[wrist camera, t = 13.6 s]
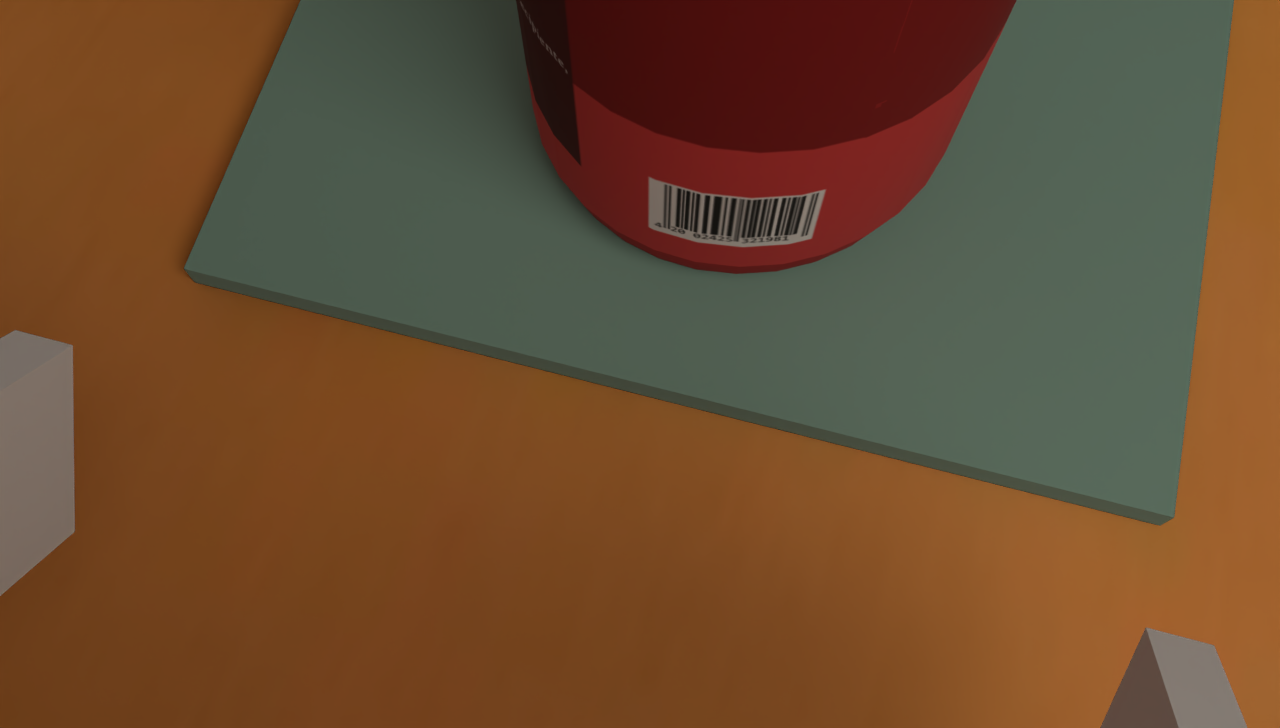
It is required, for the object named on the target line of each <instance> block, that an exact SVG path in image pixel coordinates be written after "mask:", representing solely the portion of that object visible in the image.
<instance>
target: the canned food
mask: <svg viewBox="0 0 1280 728" xmlns="http://www.w3.org/2000/svg"><path fill="white" fill-rule="evenodd" d="M516 3H517V10H518V16H519V22H520V29H521V35H522V41H523V48H524V54H525V60H526V67H527V73H528V79H529V86H530V92H531V98H532V105H533V110H534V114H535V118H536V122H537V126H538V130H539V134H540V138H541V142H542V145H543V147H544V149H545V151H546V152H547V154H548V156H549V158H550V160H551V162H552V164H553V166H554V168H555V170H556V171H557V173H558V175H559V177H560V178H561V179H562V181H563V182H564V183H565V184H566V185H567V186H568V188H569V189H570V190H571V191H572V192H573V193H574V195H575V196H576V197H577V198H578V199H579V201H580V202H581V203H582V204H583V205H584V206H585V207H586V209H587V210H588V211H589V212H590V213H591V214H592V215H593V216H594V217H595V218H596V219H597V220H598V221H599V222H601V223H602V224H603V225H604V226H606V227H607V228H608V229H610V230H611V231H612V232H613V233H615V234H616V235H617V236H619V237H620V238H621V239H622V240H624V241H625V242H627V243H629V244H631V245H633V246H635V247H637V248H639V249H641V250H643V251H645V252H647V253H649V254H651V255H653V256H655V257H657V258H659V259H662V260H666V261H669V262H673V263H676V264H679V265H683V266H686V267H690V268H693V269H696V270H705V271H714V272H723V273H732V274H743V273H759V272H775V271H780V270H784V269H789V268H793V267H797V266H801V265H805V264H809V263H813V262H816V261H819V260H821V259H823V258H825V257H828V256H830V255H832V254H834V253H837V252H839V251H841V250H843V249H846V248H848V247H850V246H852V245H853V244H855V243H856V242H858V241H859V240H861V239H862V238H864V237H865V236H867V235H868V234H869V233H871V232H872V231H874V230H875V229H877V228H878V227H880V226H881V225H882V224H884V223H885V222H887V221H888V220H890V219H891V218H893V217H894V216H895V215H897V214H898V213H899V212H900V211H901V210H902V209H903V208H904V207H905V206H906V205H907V204H908V203H909V202H910V201H911V200H912V199H913V198H914V197H915V196H916V195H917V194H918V193H919V191H920V190H921V189H922V188H923V187H924V186H925V185H926V184H927V182H928V180H929V179H930V177H931V175H932V174H933V172H934V170H935V169H936V167H937V166H938V164H939V162H940V161H941V159H942V157H943V156H944V154H945V152H946V150H947V148H948V146H949V144H950V141H951V139H952V137H953V135H954V133H955V131H956V129H957V127H958V124H959V122H960V120H961V118H962V116H963V114H964V112H965V109H966V107H967V105H968V103H969V101H970V99H971V97H972V94H973V92H974V90H975V88H976V86H977V84H978V82H979V80H980V77H981V75H982V73H983V71H984V69H985V67H986V65H987V62H988V60H989V58H990V56H991V54H992V52H993V50H994V47H995V45H996V43H997V41H998V39H999V37H1000V35H1001V33H1002V30H1003V28H1004V26H1005V24H1006V22H1007V20H1008V18H1009V15H1010V13H1011V11H1012V9H1013V7H1014V5H1015V3H1016V0H516Z"/></svg>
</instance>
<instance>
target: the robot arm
mask: <svg viewBox="0 0 1280 728" xmlns="http://www.w3.org/2000/svg"><path fill="white" fill-rule="evenodd" d="M74 532H75V502H74V412H73V345H70V344H66V343H63V342H59V341H55V340H51V339H47V338H44V337H40V336H36V335H32V334H28V333H25V332H21V331H17V330H14V331H13V332H11V333H9V334H7V335H6V336H4V337H2V338H0V596H1V595H2V594H3V593H4V592H5V591H7V590H8V589H9V588H10V587H11V586H12V585H14V584H15V583H16V582H17V581H18V580H19V579H20V578H22V577H23V576H24V575H25V574H26V573H27V572H29V571H30V570H31V569H32V568H33V567H34V566H36V565H37V564H38V563H39V562H40V561H41V560H43V559H44V558H45V557H46V556H47V555H48V554H50V553H51V552H52V551H53V550H54V549H55V548H56V547H58V546H59V545H60V544H61V543H62V542H63V541H65V540H66V539H67V538H68V537H69V536H70V535H72V534H73V533H74ZM1100 728H1247V726H1246V723H1245V721H1244V718H1243V716H1242V713H1241V711H1240V708H1239V706H1238V703H1237V701H1236V698H1235V696H1234V694H1233V691H1232V689H1231V686H1230V684H1229V681H1228V679H1227V676H1226V674H1225V671H1224V669H1223V666H1222V664H1221V661H1220V659H1219V656H1218V654H1217V651H1216V649H1215V647H1214V645H1211V644H1207V643H1203V642H1199V641H1195V640H1192V639H1188V638H1184V637H1180V636H1176V635H1173V634H1169V633H1165V632H1161V631H1157V630H1154V629H1150V628H1145V631H1144V633H1143V635H1142V637H1141V639H1140V642H1139V644H1138V646H1137V648H1136V650H1135V653H1134V655H1133V657H1132V659H1131V661H1130V664H1129V666H1128V668H1127V670H1126V672H1125V675H1124V677H1123V679H1122V681H1121V683H1120V686H1119V688H1118V690H1117V692H1116V694H1115V697H1114V699H1113V701H1112V703H1111V705H1110V708H1109V710H1108V712H1107V714H1106V716H1105V719H1104V721H1103V723H1102V725H1101V727H1100Z"/></svg>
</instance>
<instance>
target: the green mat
mask: <svg viewBox="0 0 1280 728" xmlns="http://www.w3.org/2000/svg"><path fill="white" fill-rule="evenodd" d="M1233 4H1234V0H1016V3H1015V5H1014V7H1013V9H1012V11H1011V13H1010V15H1009V18H1008V20H1007V22H1006V24H1005V26H1004V28H1003V30H1002V33H1001V35H1000V37H999V39H998V41H997V43H996V45H995V47H994V50H993V52H992V54H991V56H990V58H989V60H988V62H987V65H986V67H985V69H984V71H983V73H982V75H981V77H980V80H979V82H978V84H977V86H976V88H975V90H974V92H973V94H972V97H971V99H970V101H969V103H968V105H967V107H966V109H965V112H964V114H963V116H962V118H961V120H960V122H959V124H958V127H957V129H956V131H955V133H954V135H953V137H952V139H951V141H950V144H949V146H948V148H947V150H946V152H945V154H944V156H943V157H942V159H941V161H940V162H939V164H938V166H937V167H936V169H935V170H934V172H933V174H932V175H931V177H930V179H929V180H928V182H927V184H926V185H925V186H924V187H923V188H922V189H921V190H920V191H919V193H918V194H917V195H916V196H915V197H914V198H913V199H912V200H911V201H910V202H909V203H908V204H907V205H906V206H905V207H904V208H903V209H902V210H901V211H900V212H899V213H898V214H897V215H895V216H894V217H893V218H891V219H890V220H888V221H887V222H885V223H884V224H882V225H881V226H880V227H878V228H877V229H875V230H874V231H872V232H871V233H869V234H868V235H867V236H865V237H864V238H862V239H861V240H859V241H858V242H856V243H855V244H853V245H852V246H850V247H848V248H846V249H843V250H841V251H839V252H837V253H834V254H832V255H830V256H828V257H825V258H823V259H821V260H819V261H816V262H813V263H809V264H805V265H801V266H797V267H793V268H789V269H784V270H780V271H775V272H759V273H743V274H732V273H723V272H714V271H705V270H696V269H693V268H690V267H686V266H683V265H679V264H676V263H673V262H669V261H666V260H662V259H659V258H657V257H655V256H653V255H651V254H649V253H647V252H645V251H643V250H641V249H639V248H637V247H635V246H633V245H631V244H629V243H627V242H625V241H624V240H622V239H621V238H620V237H619V236H617V235H616V234H615V233H613V232H612V231H611V230H610V229H608V228H607V227H606V226H604V225H603V224H602V223H601V222H599V221H598V220H597V219H596V218H595V217H594V216H593V215H592V214H591V213H590V212H589V211H588V210H587V209H586V207H585V206H584V205H583V204H582V203H581V202H580V201H579V199H578V198H577V197H576V196H575V195H574V193H573V192H572V191H571V190H570V189H569V188H568V186H567V185H566V184H565V183H564V182H563V181H562V179H561V178H560V177H559V175H558V173H557V171H556V170H555V168H554V166H553V164H552V162H551V160H550V158H549V156H548V154H547V152H546V151H545V149H544V147H543V145H542V142H541V138H540V134H539V130H538V126H537V122H536V118H535V114H534V110H533V105H532V98H531V92H530V86H529V79H528V73H527V67H526V60H525V54H524V48H523V41H522V35H521V29H520V22H519V16H518V10H517V3H516V0H301V1H300V3H299V5H298V7H297V10H296V12H295V14H294V17H293V19H292V21H291V24H290V26H289V28H288V30H287V33H286V35H285V37H284V40H283V42H282V44H281V46H280V49H279V51H278V53H277V56H276V58H275V60H274V63H273V65H272V67H271V69H270V72H269V74H268V76H267V79H266V81H265V83H264V86H263V88H262V90H261V92H260V95H259V97H258V99H257V102H256V104H255V106H254V108H253V111H252V113H251V115H250V118H249V120H248V122H247V125H246V127H245V129H244V131H243V134H242V136H241V138H240V141H239V143H238V145H237V147H236V150H235V152H234V154H233V157H232V159H231V161H230V164H229V166H228V168H227V170H226V173H225V175H224V177H223V180H222V182H221V184H220V187H219V189H218V191H217V193H216V196H215V198H214V200H213V203H212V205H211V207H210V209H209V212H208V214H207V216H206V219H205V221H204V223H203V226H202V228H201V230H200V232H199V235H198V237H197V239H196V242H195V244H194V246H193V249H192V251H191V253H190V255H189V258H188V260H187V262H186V265H185V267H184V270H185V271H186V272H187V273H188V275H189V276H190V277H191V278H192V279H193V281H194V282H196V283H200V284H204V285H208V286H212V287H216V288H220V289H224V290H228V291H232V292H236V293H240V294H244V295H248V296H251V297H255V298H259V299H263V300H267V301H271V302H275V303H279V304H283V305H287V306H291V307H295V308H299V309H303V310H307V311H311V312H315V313H319V314H323V315H327V316H331V317H335V318H339V319H343V320H347V321H351V322H355V323H359V324H363V325H367V326H370V327H374V328H378V329H382V330H386V331H390V332H394V333H398V334H402V335H406V336H410V337H414V338H418V339H422V340H426V341H430V342H434V343H438V344H442V345H446V346H450V347H454V348H458V349H462V350H466V351H470V352H474V353H478V354H482V355H486V356H490V357H493V358H497V359H501V360H505V361H509V362H513V363H517V364H521V365H525V366H529V367H533V368H537V369H541V370H545V371H549V372H553V373H557V374H561V375H565V376H569V377H573V378H577V379H581V380H585V381H589V382H593V383H597V384H601V385H605V386H609V387H613V388H616V389H620V390H624V391H628V392H632V393H636V394H640V395H644V396H648V397H652V398H656V399H660V400H664V401H668V402H672V403H676V404H680V405H684V406H688V407H692V408H696V409H700V410H704V411H708V412H712V413H716V414H720V415H724V416H728V417H732V418H735V419H739V420H743V421H747V422H751V423H755V424H759V425H763V426H767V427H771V428H775V429H779V430H783V431H787V432H791V433H795V434H799V435H803V436H807V437H811V438H815V439H819V440H823V441H827V442H831V443H835V444H839V445H843V446H847V447H851V448H855V449H858V450H862V451H866V452H870V453H874V454H878V455H882V456H886V457H890V458H894V459H898V460H902V461H906V462H910V463H914V464H918V465H922V466H926V467H930V468H934V469H938V470H942V471H946V472H950V473H954V474H958V475H962V476H966V477H970V478H974V479H977V480H981V481H985V482H989V483H993V484H997V485H1001V486H1005V487H1009V488H1013V489H1017V490H1021V491H1025V492H1029V493H1033V494H1037V495H1041V496H1045V497H1049V498H1053V499H1057V500H1061V501H1065V502H1069V503H1073V504H1077V505H1081V506H1085V507H1089V508H1093V509H1097V510H1100V511H1104V512H1108V513H1112V514H1116V515H1120V516H1124V517H1128V518H1132V519H1136V520H1140V521H1144V522H1148V523H1152V524H1156V525H1162V524H1164V523H1165V522H1167V521H1169V520H1171V519H1172V518H1174V514H1175V506H1176V497H1177V488H1178V480H1179V471H1180V462H1181V454H1182V445H1183V436H1184V428H1185V419H1186V411H1187V402H1188V393H1189V385H1190V376H1191V367H1192V359H1193V350H1194V341H1195V333H1196V324H1197V315H1198V307H1199V298H1200V289H1201V281H1202V272H1203V263H1204V255H1205V246H1206V237H1207V229H1208V220H1209V211H1210V203H1211V194H1212V185H1213V177H1214V168H1215V159H1216V151H1217V142H1218V133H1219V125H1220V116H1221V107H1222V99H1223V90H1224V81H1225V73H1226V64H1227V55H1228V47H1229V38H1230V30H1231V21H1232V12H1233Z"/></svg>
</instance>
